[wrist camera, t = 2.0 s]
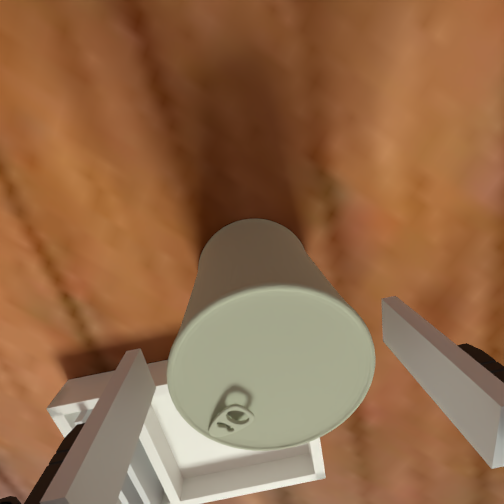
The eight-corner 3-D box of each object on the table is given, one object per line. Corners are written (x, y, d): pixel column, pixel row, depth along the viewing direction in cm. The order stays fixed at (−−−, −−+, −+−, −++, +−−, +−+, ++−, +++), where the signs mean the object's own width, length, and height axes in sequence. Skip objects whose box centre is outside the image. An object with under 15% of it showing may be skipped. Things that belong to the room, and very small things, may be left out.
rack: (67, 379, 25) (37, 419, 21) (299, 332, 25) (311, 364, 21) (127, 486, 30) (112, 533, 26) (316, 448, 30) (328, 489, 26)
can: (176, 279, 22) (115, 406, 11) (247, 193, 20) (265, 238, 9) (259, 336, 24) (281, 488, 13) (329, 264, 22) (427, 370, 11)
